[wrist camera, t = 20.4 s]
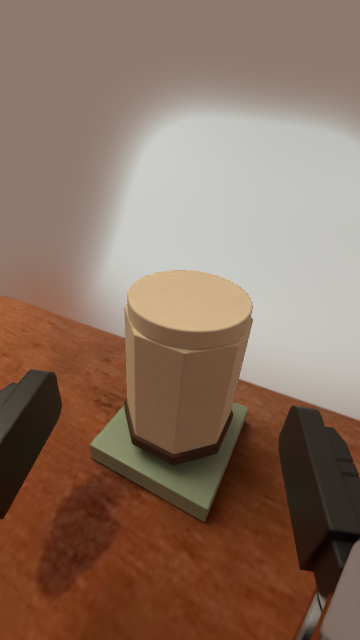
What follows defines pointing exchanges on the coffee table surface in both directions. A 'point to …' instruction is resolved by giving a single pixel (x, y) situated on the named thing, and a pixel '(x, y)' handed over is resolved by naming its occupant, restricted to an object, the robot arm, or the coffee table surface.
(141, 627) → the coffee table surface
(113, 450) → the green square peg base
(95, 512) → the coffee table surface
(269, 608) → the coffee table surface
